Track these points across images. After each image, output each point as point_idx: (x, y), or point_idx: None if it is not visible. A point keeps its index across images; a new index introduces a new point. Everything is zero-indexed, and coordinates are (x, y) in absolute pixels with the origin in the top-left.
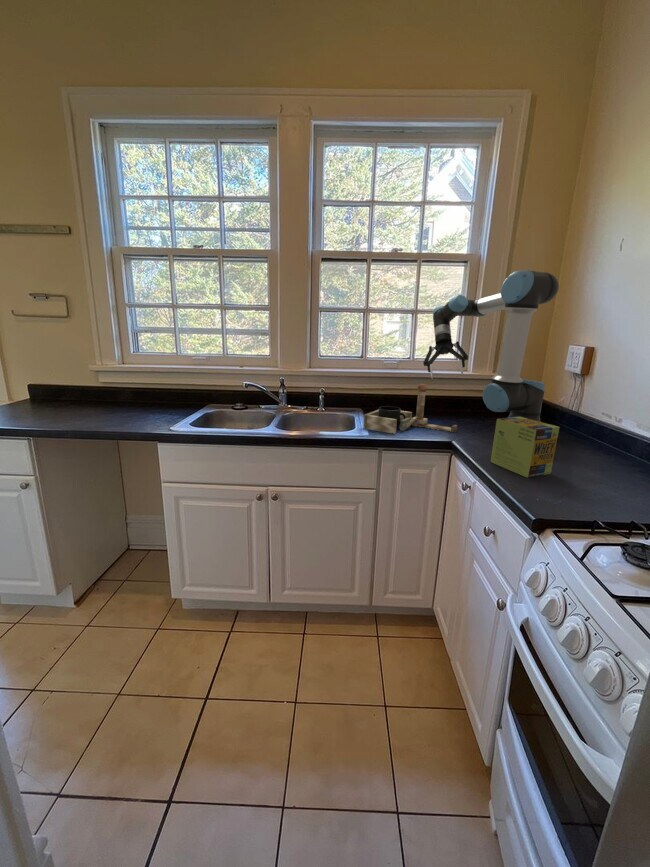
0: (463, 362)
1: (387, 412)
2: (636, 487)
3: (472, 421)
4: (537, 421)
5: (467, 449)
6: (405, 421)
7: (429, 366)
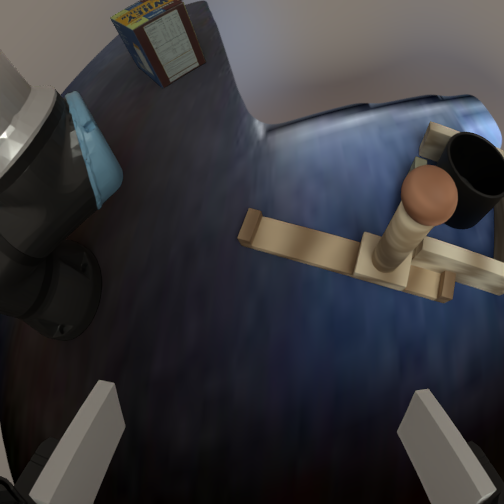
0: (36, 470)
1: (468, 136)
2: (74, 81)
3: (170, 411)
4: (122, 20)
5: (233, 97)
6: (414, 166)
7: (483, 482)
